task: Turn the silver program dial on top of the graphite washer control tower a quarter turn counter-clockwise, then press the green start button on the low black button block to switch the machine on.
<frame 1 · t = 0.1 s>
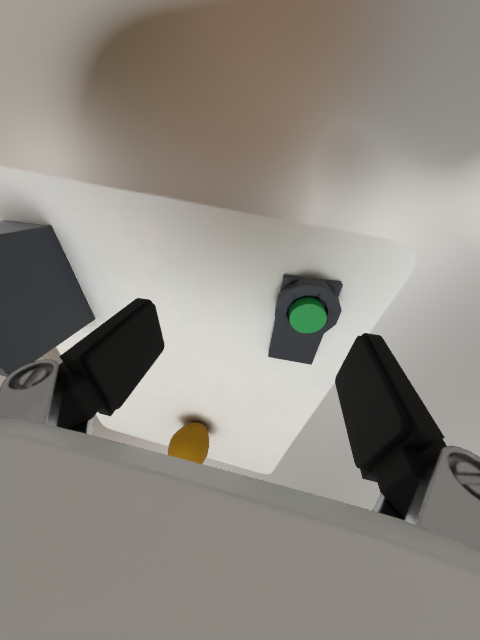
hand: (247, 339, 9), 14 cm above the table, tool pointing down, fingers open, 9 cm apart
button block: (299, 322, 24), on the table
apple: (198, 423, 46), on the table
dial panel: (55, 276, 28), on the table
start button: (307, 315, 20), point 3 cm above the table, slide at 0.1 cm
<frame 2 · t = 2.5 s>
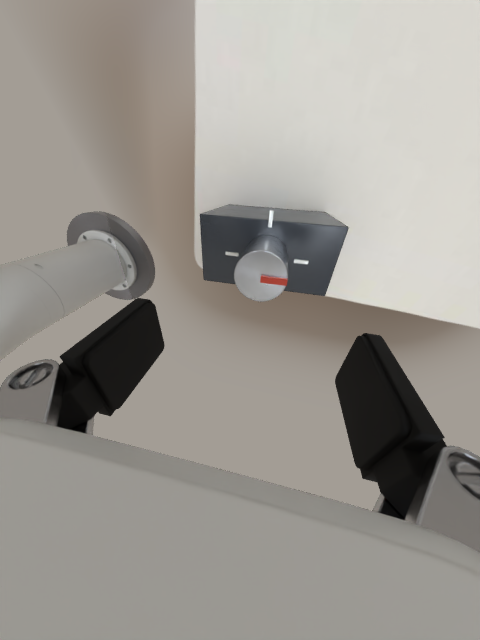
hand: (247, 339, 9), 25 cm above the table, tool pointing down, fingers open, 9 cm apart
dial panel: (272, 234, 30), on the table
program dial: (263, 267, 18), point 15 cm above the table, hinge at 0.0°
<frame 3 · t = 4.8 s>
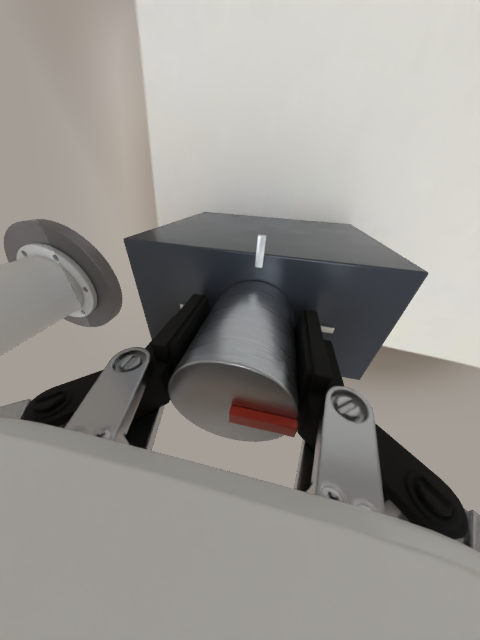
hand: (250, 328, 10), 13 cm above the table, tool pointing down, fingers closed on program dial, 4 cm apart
dial panel: (269, 254, 20), on the table
program dial: (243, 353, 8), point 15 cm above the table, hinge at -0.1°, touching gripper
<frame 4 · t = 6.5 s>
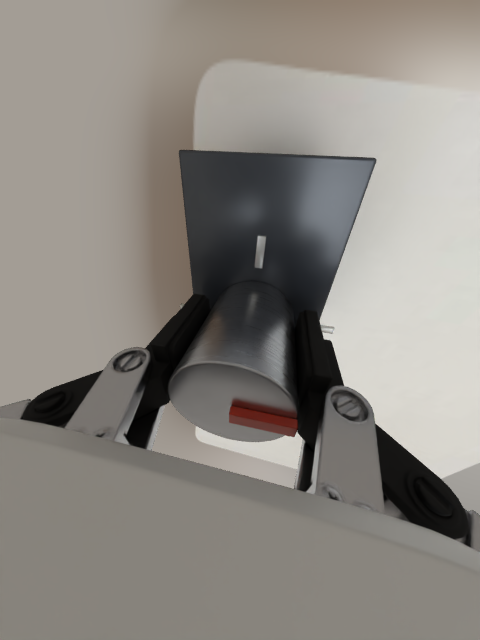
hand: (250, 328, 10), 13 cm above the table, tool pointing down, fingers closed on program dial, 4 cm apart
dial panel: (269, 254, 20), on the table
program dial: (243, 354, 8), point 15 cm above the table, hinge at 91.0°, touching gripper
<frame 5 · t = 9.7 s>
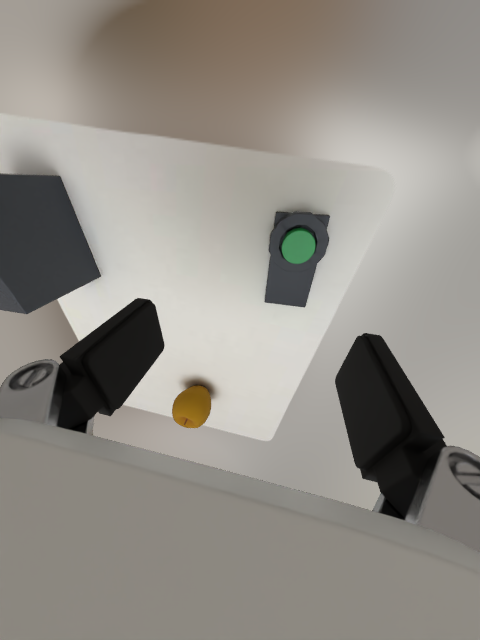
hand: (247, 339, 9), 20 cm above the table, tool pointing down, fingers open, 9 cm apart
button block: (292, 263, 26), on the table
apple: (200, 387, 48), on the table
dial panel: (63, 231, 30), on the table
start button: (297, 246, 22), point 3 cm above the table, slide at 0.1 cm
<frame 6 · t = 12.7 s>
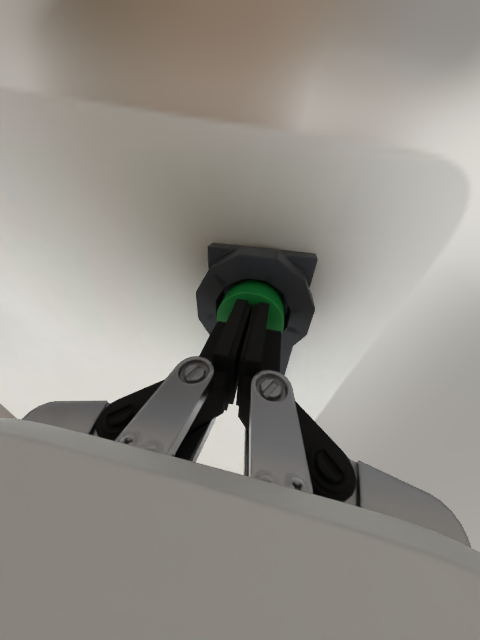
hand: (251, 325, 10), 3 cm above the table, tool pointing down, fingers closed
button block: (252, 329, 15), on the table
start button: (251, 315, 11), point 3 cm above the table, slide at -0.2 cm, touching gripper
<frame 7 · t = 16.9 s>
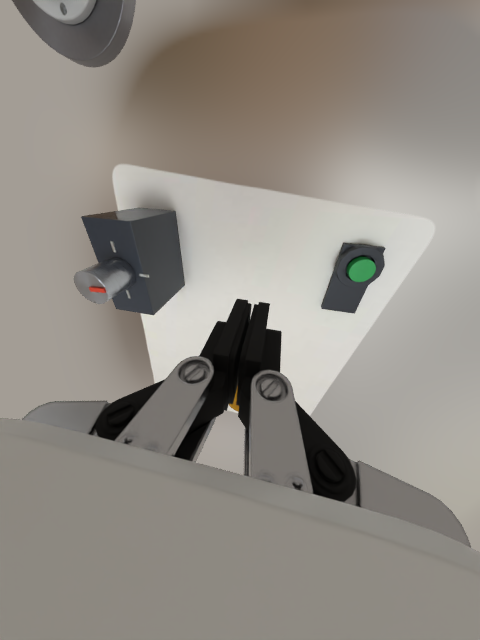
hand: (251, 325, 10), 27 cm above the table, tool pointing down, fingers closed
button block: (348, 280, 34), on the table
apple: (246, 379, 56), on the table
dial panel: (163, 250, 38), on the table
program dial: (106, 280, 26), point 15 cm above the table, hinge at 93.0°
start button: (360, 269, 30), point 3 cm above the table, slide at 0.1 cm
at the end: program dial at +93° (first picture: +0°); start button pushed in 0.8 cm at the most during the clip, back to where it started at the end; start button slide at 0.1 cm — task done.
